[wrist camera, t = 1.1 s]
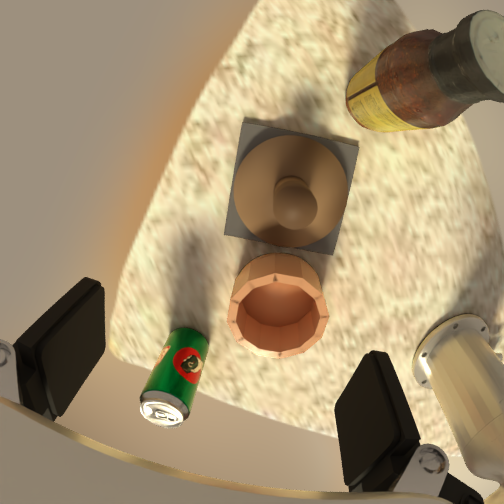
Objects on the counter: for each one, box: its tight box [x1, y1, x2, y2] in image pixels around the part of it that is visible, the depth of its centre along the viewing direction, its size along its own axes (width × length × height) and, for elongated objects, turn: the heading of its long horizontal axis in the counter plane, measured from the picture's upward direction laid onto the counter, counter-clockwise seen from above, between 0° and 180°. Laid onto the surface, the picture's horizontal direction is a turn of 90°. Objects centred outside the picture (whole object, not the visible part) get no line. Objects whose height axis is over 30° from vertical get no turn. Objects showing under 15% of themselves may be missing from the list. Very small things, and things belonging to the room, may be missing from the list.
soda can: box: [140, 328, 209, 428], centre depth 31 cm, size 5×5×12 cm
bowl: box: [227, 253, 329, 359], centre depth 31 cm, size 9×9×5 cm
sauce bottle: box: [346, 10, 504, 132], centre depth 16 cm, size 6×6×20 cm
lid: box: [233, 135, 348, 247], centre depth 25 cm, size 10×10×7 cm
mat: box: [224, 122, 359, 255], centre depth 29 cm, size 11×11×1 cm
